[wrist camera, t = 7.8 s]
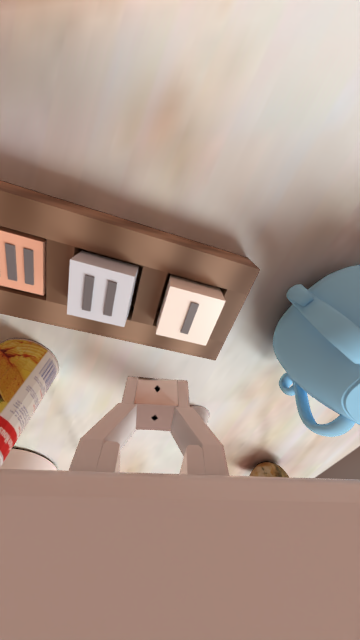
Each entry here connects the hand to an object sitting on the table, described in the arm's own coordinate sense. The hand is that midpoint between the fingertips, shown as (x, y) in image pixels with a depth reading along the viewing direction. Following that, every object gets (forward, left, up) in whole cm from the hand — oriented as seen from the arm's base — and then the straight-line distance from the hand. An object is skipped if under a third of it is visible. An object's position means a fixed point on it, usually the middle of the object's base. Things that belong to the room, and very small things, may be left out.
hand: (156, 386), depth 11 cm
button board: (-5, +3, -15) cm, 16 cm away
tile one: (+2, -2, -12) cm, 12 cm away
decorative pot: (+16, -13, -16) cm, 26 cm away
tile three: (-11, +8, -14) cm, 19 cm away
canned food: (-22, -3, -16) cm, 27 cm away
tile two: (-5, +3, -12) cm, 13 cm away
